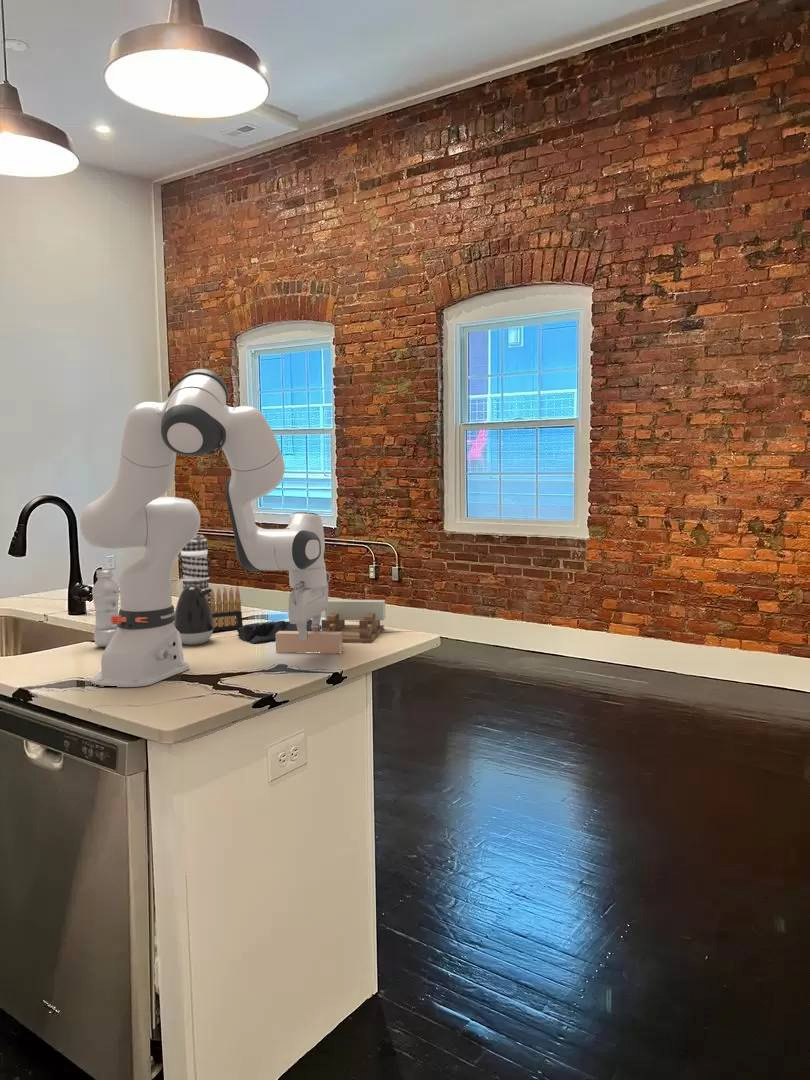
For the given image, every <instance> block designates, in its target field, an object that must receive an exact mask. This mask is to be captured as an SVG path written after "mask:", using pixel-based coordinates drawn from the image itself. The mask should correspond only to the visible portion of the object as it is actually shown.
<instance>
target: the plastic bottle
mask: <svg viewBox="0 0 810 1080" xmlns="http://www.w3.org/2000/svg"><path fill="white" fill-rule="evenodd" d="M95 573H96V576H95V577H96V578H97V580H96V582H95V583H94V585H93V586H92V589H91V594H92V600H93V604H94V611H95V628H94V634H93V640H94V644H95V645H96V646H97V647H99V648H106V647H107V646H108V644H109V642H110V641H111V639H112V637H113V636H114V634H115V632H116V631H117V628H118V626H117V624H112V623H111V620H112V619H111V618H112V617H111V616H112V615H117V616H118V614H119V611H118V610H119V600H120V586H119V585H118V584H117V582H115V580H114V579H113V577H114V576H113V575H114V574H113V570H112V569H111V568H102V569H99V568H98V569H96V572H95Z"/></svg>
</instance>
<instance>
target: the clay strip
mask: <svg viewBox="0 0 810 1080" xmlns="http://www.w3.org/2000/svg"><path fill="white" fill-rule="evenodd" d="M307 632H308V639H306V640H300V639H299V632H298V631H279V632H277V633H275V635H276V641H275V653H276V652H279V653H278V654H281V653H280V652H284V653H283V654H292V653H291V652H299V653H298V654H301V653H300V652H317V653H318V652H320V653H340V652H341V651H342V650H343V651H344V648H343V647H344V646H343V645H344V644H343V643H344V642H343V640H342V632H322V631H321V630H320V631H307ZM343 651H342V652H343ZM285 652H287V653H285ZM288 652H290V653H288ZM342 652H341V653H342ZM341 653H340V654H341Z"/></svg>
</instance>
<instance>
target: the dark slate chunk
mask: <svg viewBox="0 0 810 1080" xmlns="http://www.w3.org/2000/svg"><path fill="white" fill-rule="evenodd" d="M311 625H312V619H310V620H309V621H307V626H306V629H307V631H311ZM279 631H298V629H297V624H291V623H290V621H289V620H288V621H286V620H278V621H269V622H264V623H262V624H261V623H251V624H245V625H243V627H240V628H238V629H236V632H237V633H238V634H237V635H238V636H239V637H238V636H237V637H238V638H239V640H241V641H243V642H245V641H247V642H246V643H249V644H253V645H257V643H258V644H261V643H269V642H276V635H275V633H277V632H279ZM319 631H320V632H321V631H322V624H320V630H319Z"/></svg>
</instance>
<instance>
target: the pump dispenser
mask: <svg viewBox="0 0 810 1080" xmlns="http://www.w3.org/2000/svg"><path fill="white" fill-rule="evenodd" d="M211 589H212V588H211V587H209V589H206V590H203V591H202V589H201V588H200V587H198V586H195V585H190V586H187V587H186V588H184V590H183V589H182V591H181V593H180V595H179V597H178V600H177V604H176V606H175V609H174V611H175V621H174V622H173V623H174V625H175V627H176V629H177V630H178V631H179V632H180V635H181V642H182V645H186V646H198V644H199V645H202V644H206V643H207V642H208V641H209V640H210V639H211V638H212V636H213V629H214V620H213V615H212V611H211V608H210V605H209V603H210V602H208V600H207V597H206V595H207V594H208V593H210V592H212V590H211Z"/></svg>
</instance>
